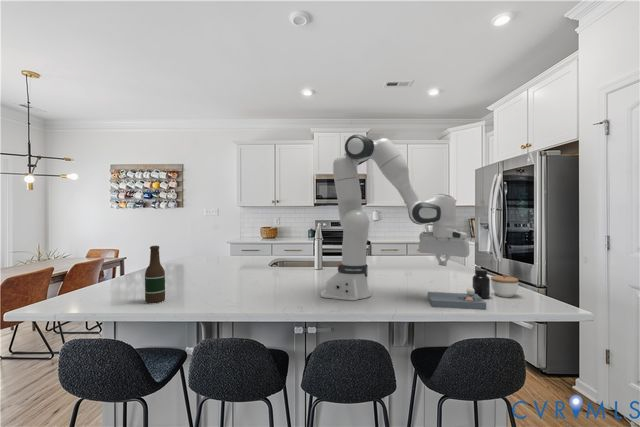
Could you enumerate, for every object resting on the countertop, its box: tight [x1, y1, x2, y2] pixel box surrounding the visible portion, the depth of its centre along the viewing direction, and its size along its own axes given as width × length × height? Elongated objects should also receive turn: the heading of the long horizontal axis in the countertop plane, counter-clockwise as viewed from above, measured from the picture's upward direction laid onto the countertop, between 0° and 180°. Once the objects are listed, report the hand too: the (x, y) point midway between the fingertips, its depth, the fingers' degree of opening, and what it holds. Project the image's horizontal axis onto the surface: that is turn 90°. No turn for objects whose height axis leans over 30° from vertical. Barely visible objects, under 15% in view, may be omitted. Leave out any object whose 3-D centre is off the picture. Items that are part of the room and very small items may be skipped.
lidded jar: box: [490, 273, 520, 298], centre depth 145 cm, size 11×11×9 cm
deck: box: [427, 291, 487, 310], centre depth 133 cm, size 20×14×2 cm
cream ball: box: [466, 287, 475, 295], centre depth 136 cm, size 3×3×3 cm
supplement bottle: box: [472, 268, 491, 300], centre depth 142 cm, size 7×7×12 cm
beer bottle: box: [144, 245, 166, 304], centre depth 139 cm, size 8×8×24 cm
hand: (442, 265), depth 137 cm, fingers closed
